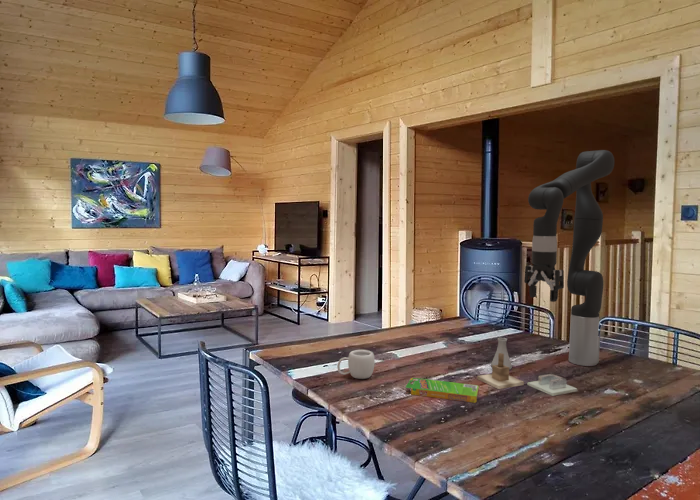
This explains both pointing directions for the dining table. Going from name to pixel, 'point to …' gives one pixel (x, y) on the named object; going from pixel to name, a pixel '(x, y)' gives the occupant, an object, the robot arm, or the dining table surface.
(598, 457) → the dining table surface
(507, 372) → the post stand
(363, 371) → the mug
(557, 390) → the coaster
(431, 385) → the game box
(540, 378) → the c link
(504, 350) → the flask
